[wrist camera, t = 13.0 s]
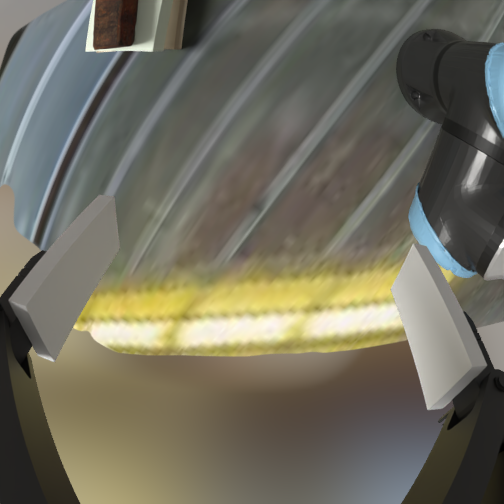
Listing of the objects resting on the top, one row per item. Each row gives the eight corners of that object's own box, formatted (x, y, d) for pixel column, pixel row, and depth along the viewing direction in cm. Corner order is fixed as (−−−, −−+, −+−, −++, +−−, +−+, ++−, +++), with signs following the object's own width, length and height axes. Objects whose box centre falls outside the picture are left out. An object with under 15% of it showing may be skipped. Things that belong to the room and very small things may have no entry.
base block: (192, -24, 30) (185, -30, 26) (182, 49, 37) (174, 48, 34) (117, -17, 29) (105, -21, 26) (109, 51, 36) (96, 52, 33)
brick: (137, 45, 30) (120, 46, 26) (109, 49, 30) (90, 50, 26) (143, -28, 24) (127, -36, 20) (114, -23, 24) (96, -29, 20)
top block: (179, -27, 27) (170, -34, 23) (163, 51, 34) (152, 51, 30) (113, -24, 26) (99, -28, 23) (99, 50, 33) (85, 51, 30)
